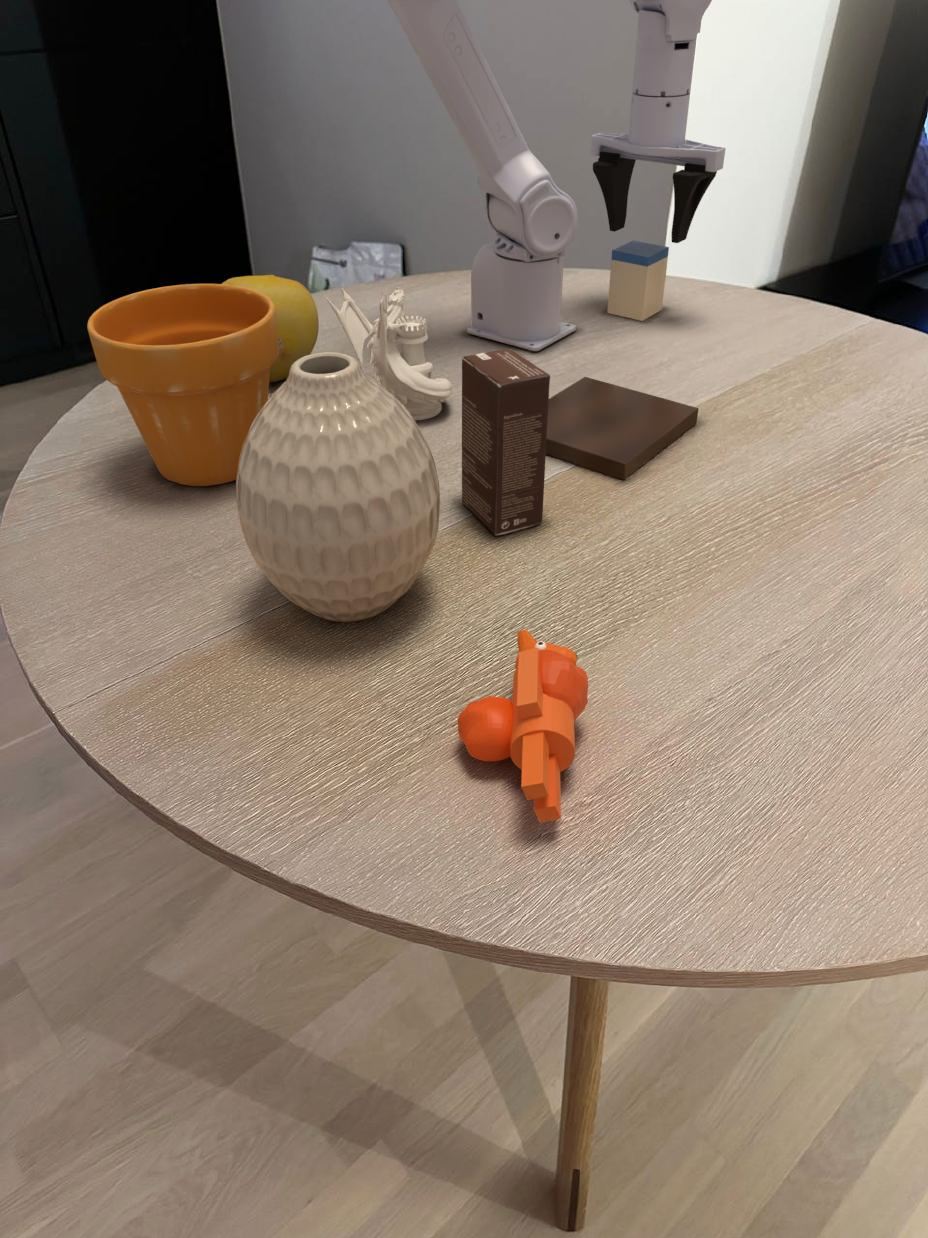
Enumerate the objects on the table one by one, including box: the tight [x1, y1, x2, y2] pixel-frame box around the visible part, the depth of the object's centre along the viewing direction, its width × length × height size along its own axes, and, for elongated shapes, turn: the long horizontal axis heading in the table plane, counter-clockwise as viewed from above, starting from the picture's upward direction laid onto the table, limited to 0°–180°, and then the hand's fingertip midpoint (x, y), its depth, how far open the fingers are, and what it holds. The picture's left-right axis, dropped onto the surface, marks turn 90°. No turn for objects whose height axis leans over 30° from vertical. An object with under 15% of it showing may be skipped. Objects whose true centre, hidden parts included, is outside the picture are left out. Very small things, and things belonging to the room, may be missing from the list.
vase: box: [235, 351, 441, 623], centre depth 59 cm, size 13×13×17 cm
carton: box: [606, 240, 670, 322], centre depth 105 cm, size 5×5×7 cm
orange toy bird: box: [457, 629, 589, 823], centre depth 51 cm, size 5×8×12 cm
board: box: [546, 376, 699, 481], centre depth 83 cm, size 12×13×2 cm
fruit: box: [221, 274, 320, 383], centre depth 92 cm, size 10×11×10 cm
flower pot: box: [86, 283, 279, 487], centre depth 76 cm, size 14×14×13 cm
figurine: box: [325, 286, 453, 421], centre depth 84 cm, size 11×8×12 cm
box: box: [461, 348, 551, 536], centre depth 69 cm, size 6×4×12 cm
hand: (647, 234), depth 101 cm, fingers open, 7 cm apart
